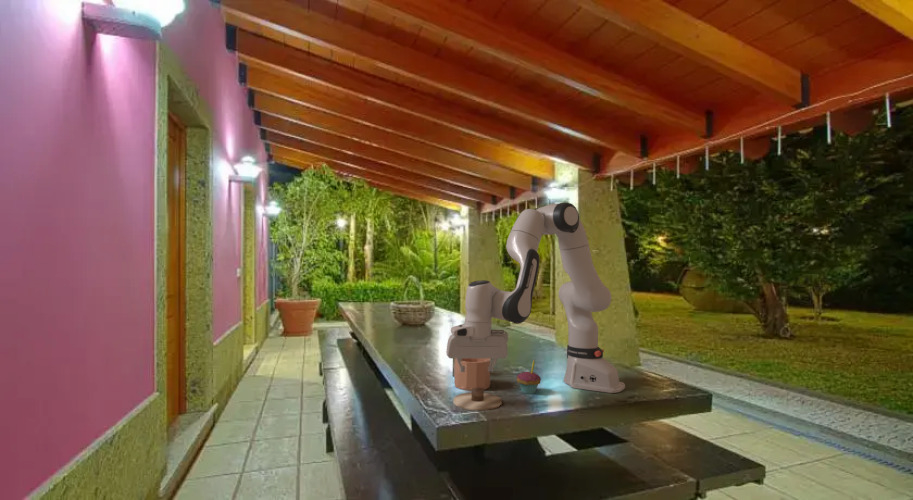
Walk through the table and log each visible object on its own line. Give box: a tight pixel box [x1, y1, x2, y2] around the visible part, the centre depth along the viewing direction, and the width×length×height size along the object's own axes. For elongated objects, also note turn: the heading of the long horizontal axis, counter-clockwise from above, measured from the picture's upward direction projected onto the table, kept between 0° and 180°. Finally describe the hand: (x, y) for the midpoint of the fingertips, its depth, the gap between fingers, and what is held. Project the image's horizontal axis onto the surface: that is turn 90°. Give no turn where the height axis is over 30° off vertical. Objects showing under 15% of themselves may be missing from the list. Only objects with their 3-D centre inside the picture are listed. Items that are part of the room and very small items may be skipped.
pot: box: [454, 358, 491, 392], centre depth 171 cm, size 13×13×10 cm
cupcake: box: [516, 358, 542, 395], centre depth 165 cm, size 9×8×12 cm
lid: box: [452, 387, 503, 411], centre depth 152 cm, size 16×16×5 cm
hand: (476, 371), depth 152 cm, fingers open, 8 cm apart
